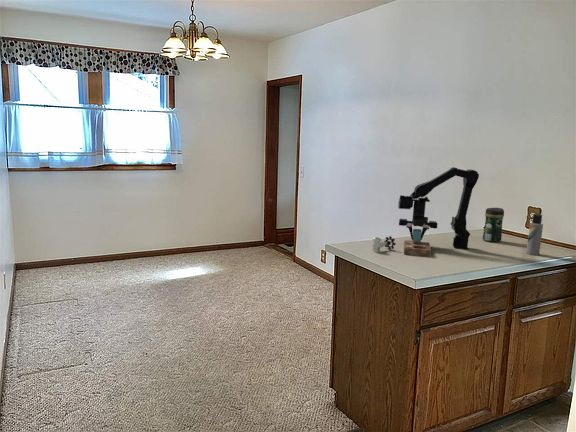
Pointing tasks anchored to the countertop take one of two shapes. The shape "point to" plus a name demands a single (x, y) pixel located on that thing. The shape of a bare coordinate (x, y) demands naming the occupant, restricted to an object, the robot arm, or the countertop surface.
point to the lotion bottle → (535, 235)
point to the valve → (382, 244)
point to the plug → (417, 235)
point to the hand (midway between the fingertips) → (416, 240)
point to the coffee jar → (493, 224)
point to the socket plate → (417, 248)
